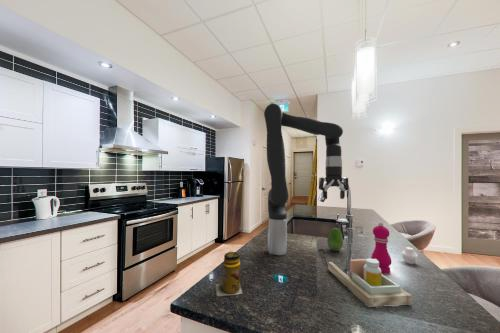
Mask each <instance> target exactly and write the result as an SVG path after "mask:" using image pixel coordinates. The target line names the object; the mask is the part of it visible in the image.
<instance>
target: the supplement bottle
mask: <svg viewBox="0 0 500 333" xmlns="http://www.w3.org/2000/svg"><path fill="white" fill-rule="evenodd" d="M365 259H366V264H365V265H364V267H363V280H364V281H365V282H367V283H368V284H369V285H371V286H381V274H382V273H381V269H380V268H379V261H377V260H375V259H371V258H370V257H368V258H365Z"/></svg>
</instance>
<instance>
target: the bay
mask: <svg viewBox="0 0 500 333" xmlns="http://www.w3.org/2000/svg"><path fill="white" fill-rule="evenodd" d="M327 270H329V272H331V274H332V275H333V276H335V277H336V278H337V280H339V282H341V283H342V285H344V286H345V287H346V286H347V287H348V288H347V287H346V288H347V289H348V290H349V291H350V290H351V291H352V292H353V295H354V296H355V297H357V299H358V300H360V299H361V300H362V301H363V302H364V303H365V304H366V305H367V306H384V305H409V304H410V305H409V306H412V294H410V293H408V292H407V291H406V290H404V289H402V288H401V293H387V294H369V293H368V292H366V291H365V290H364V289H363V288H362V287H361V286H359V285H358V284H357V283H356V282H355V281H354V280H352V279H351V278H350V275H348V274H347V273H345V272H344V271H343V270H342V269H341V268H340V267H338V266H337V265H336V264H334V262H333V261H328V263H327ZM351 291H350V292H351ZM352 292H351V293H352ZM361 300H360V301H361ZM362 301H361V302H362ZM363 302H362V303H363ZM364 303H363V304H364ZM365 304H364V305H365ZM366 305H365V306H366ZM367 306H366V307H367Z"/></svg>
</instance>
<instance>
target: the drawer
mask: <svg viewBox="0 0 500 333" xmlns="http://www.w3.org/2000/svg"><path fill="white" fill-rule="evenodd" d="M366 259H367V258H359V259H358V258H357V259H356V258H355V259H350V260H349V263H350V264H349V268H350V269H349V277H350V278H351V279H352V280H354V281H355V282H356V283H357V284H358V285H359V286H361V287H362V288H363V289H364V290H365V291H366V292H368V293H369V294H387V293H401V289H402V288H401V285H399V284H398V283H396V282H394V281H393V280H391V279H390V278H389V277H387V276H385V275H384V274H383V273H381V286H371V285H369V284H368V283H367V282H365V281H364V280H363V267H364V265H365V264H366ZM375 260H377V259H375ZM377 261H378V260H377Z"/></svg>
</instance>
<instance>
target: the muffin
mask: <svg viewBox="0 0 500 333" xmlns="http://www.w3.org/2000/svg"><path fill="white" fill-rule="evenodd" d="M401 256H402V258H403V260H404V262H405V263H406V264H409V265H415V263H416V262H417V260H418V259H419V255H418V253H416V251H415V249H414V248H412V247H409V246H408V247H405V248H404V249H403V251H401Z"/></svg>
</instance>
